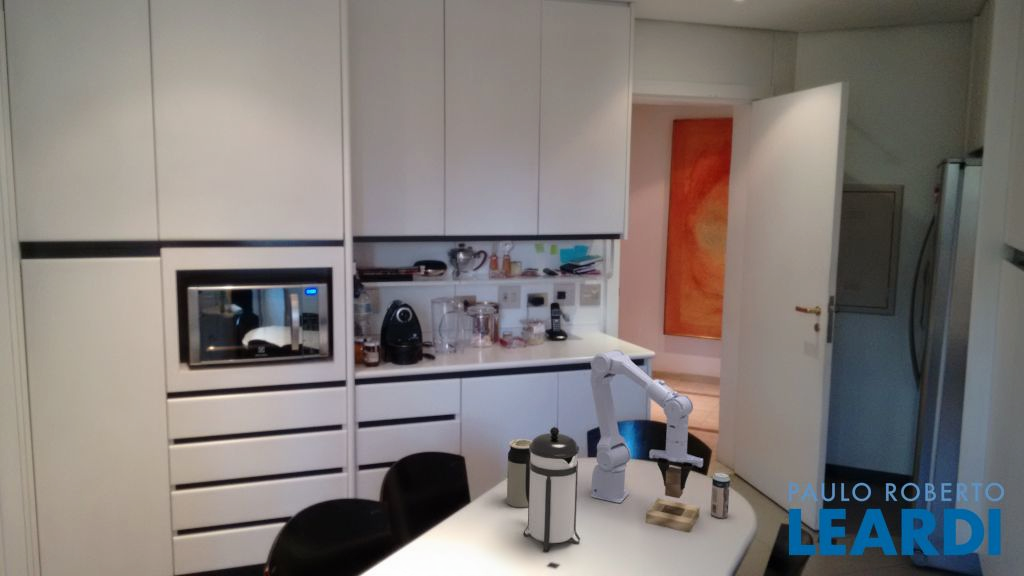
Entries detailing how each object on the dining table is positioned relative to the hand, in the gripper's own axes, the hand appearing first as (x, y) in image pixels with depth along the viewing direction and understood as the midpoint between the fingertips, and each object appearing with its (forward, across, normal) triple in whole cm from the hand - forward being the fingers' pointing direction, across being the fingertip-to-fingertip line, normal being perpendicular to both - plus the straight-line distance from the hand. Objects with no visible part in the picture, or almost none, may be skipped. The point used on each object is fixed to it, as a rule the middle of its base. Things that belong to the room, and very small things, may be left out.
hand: (674, 486), depth 190 cm
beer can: (+10, +11, +9) cm, 17 cm away
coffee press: (+10, -26, -28) cm, 39 cm away
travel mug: (+10, -42, -12) cm, 45 cm away
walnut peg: (+2, 0, 0) cm, 2 cm away
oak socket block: (+9, 0, 0) cm, 9 cm away
